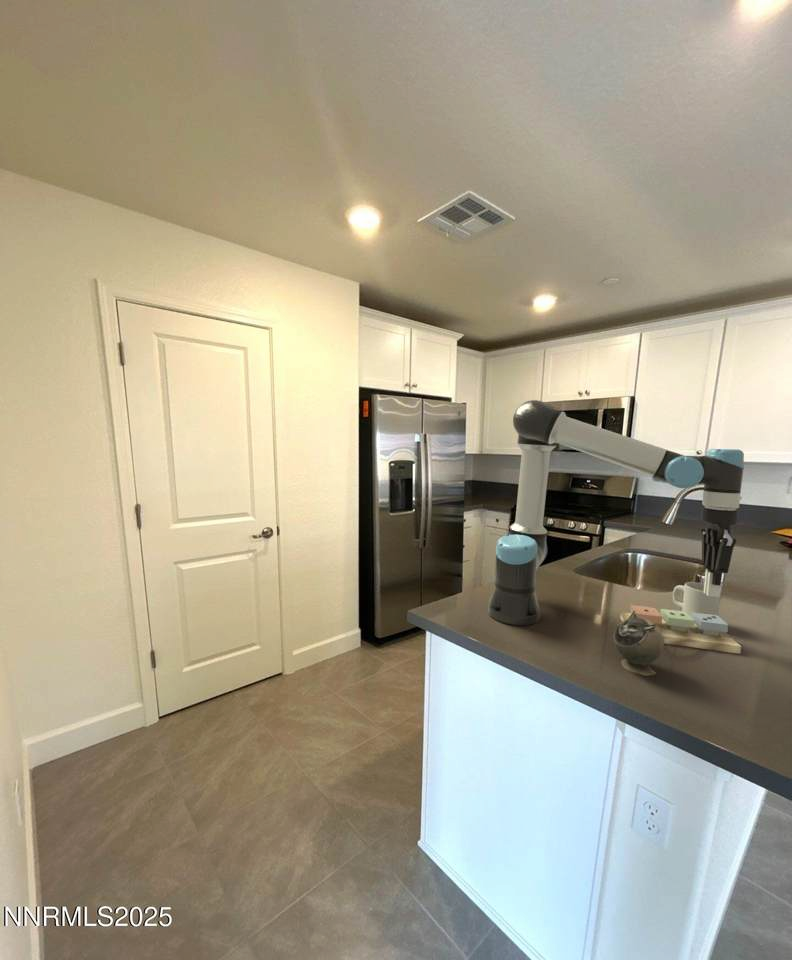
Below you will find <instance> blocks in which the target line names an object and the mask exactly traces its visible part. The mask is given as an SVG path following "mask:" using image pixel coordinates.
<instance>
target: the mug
mask: <svg viewBox="0 0 792 960" xmlns="http://www.w3.org/2000/svg"><path fill="white" fill-rule="evenodd" d="M704 583H705V582H704ZM704 583H702V582H695V581H691V582H690V581H687V582H685V583H684V585H682V584H681V585H680V584H679V585H676V586H675V587H674V588H673V591H672V601H673V603H674V605H675V606H677V607H678V608H681V611H685V612H686V613H687V614H688V615H689V616H690V617H691V612H693V613H702V614H710V615H717V616H718V617H719V613H720V603H721V593H722V592H721V590H720V597H715V596H707V595H706V594H705V593H704ZM679 591H682V592H683V598H682V602H681V601H680V600H679V598H678V593H679Z"/></svg>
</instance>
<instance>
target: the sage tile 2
mask: <svg viewBox="0 0 792 960" xmlns="http://www.w3.org/2000/svg"><path fill="white" fill-rule="evenodd" d="M659 614H660V615H661V616H662V618H663V619H664V621H665V622H666V623H667V624H666V625H667V626H668V628H669V629H670V630H673V631H680V632H686V627H691V628H694V623H695V621H694V620H693V619H692V618H691V617H690V616H689V615H688V614H687V613H686V612H685V611H682V610H675V609H674V610H673V609H666V608H660V612H659Z"/></svg>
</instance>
